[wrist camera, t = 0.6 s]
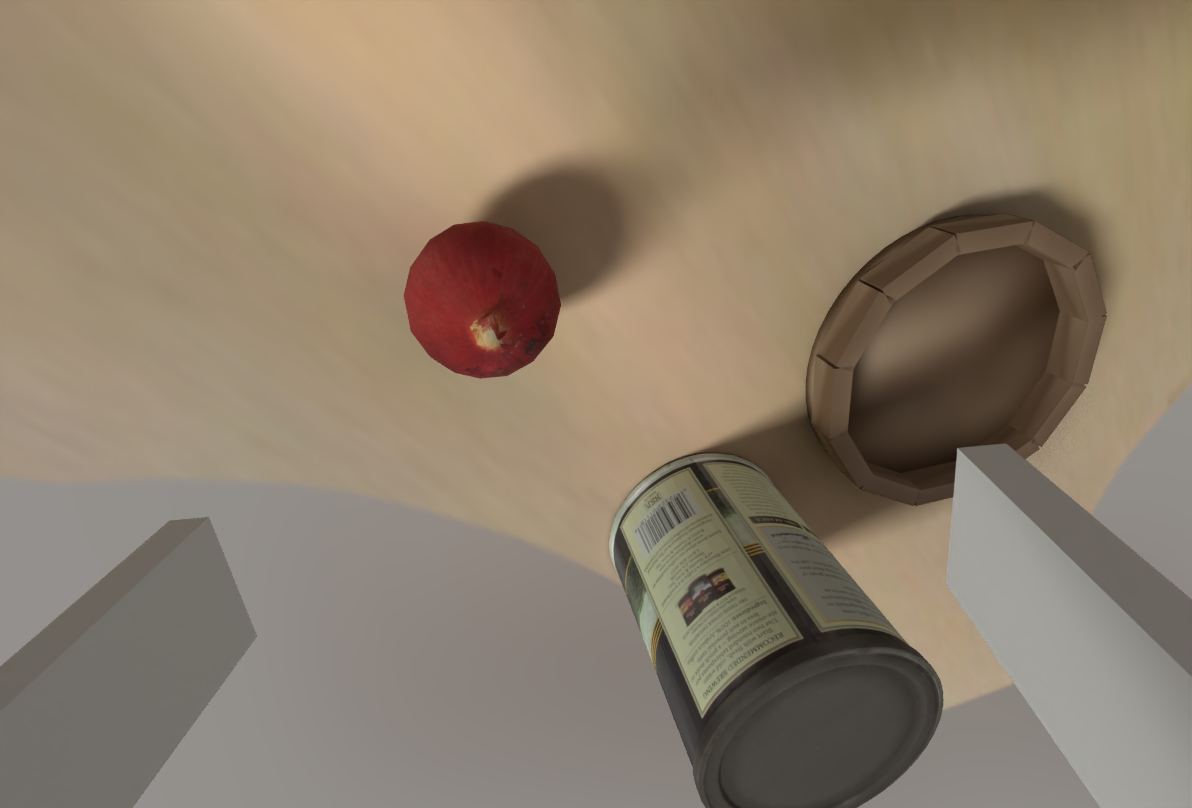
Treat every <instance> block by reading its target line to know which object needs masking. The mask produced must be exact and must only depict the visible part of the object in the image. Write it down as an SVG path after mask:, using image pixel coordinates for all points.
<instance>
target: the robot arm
mask: <svg viewBox="0 0 1192 808" xmlns="http://www.w3.org/2000/svg"><path fill="white" fill-rule="evenodd" d="M946 585H947V587H948V588H949V590H950V591H951V593H952V594H953V595H954V597H955V598H956V600H957V601H958V603H959V604H960V606H961V607H962V608H963V610H964V611H965V613H966V614H967V616H968V617H969V619H970V620H971V621H972V623H973V624H974V626H975V627H976V629H977V630H978V632H979V633H980V634H981V636H982V637H983V639H984V640H985V642H986V643H987V644H988V646H989V647H990V649H991V650H992V652H993V653H994V655H995V656H996V657H997V659H998V660H999V662H1000V663H1001V665H1002V666H1003V668H1004V669H1005V670H1006V672H1007V673H1008V675H1009V676H1010V678H1011V679H1012V681H1013V682H1014V683H1015V685H1016V686H1017V688H1018V689H1019V691H1020V692H1021V694H1022V695H1023V696H1024V698H1025V699H1026V701H1027V702H1028V704H1029V705H1030V706H1031V708H1032V709H1033V711H1034V712H1035V714H1036V715H1037V717H1038V718H1039V719H1040V721H1041V722H1042V724H1043V725H1044V727H1045V728H1046V730H1047V731H1048V732H1049V734H1050V735H1051V737H1052V738H1053V740H1054V741H1055V742H1056V744H1057V745H1058V747H1059V748H1060V749H1061V751H1062V753H1063V754H1064V756H1065V757H1066V758H1067V760H1068V761H1069V763H1070V764H1071V765H1072V767H1073V768H1074V770H1075V771H1076V773H1077V774H1078V776H1079V777H1080V779H1081V780H1082V781H1083V783H1084V784H1085V786H1086V787H1087V789H1088V790H1089V792H1090V793H1091V795H1092V796H1093V797H1094V799H1095V800H1096V802H1097V803H1098V805H1099V806H1100V807H1101V808H1192V599H1191V598H1189V597H1188V596H1187V595H1186V594H1185V593H1184V592H1182V591H1181V590H1180V589H1179V588H1178V587H1176V586H1175V585H1174V584H1173V583H1172V582H1170V581H1169V580H1168V579H1167V578H1166V577H1164V576H1163V575H1162V574H1161V573H1160V572H1158V571H1157V570H1156V569H1155V568H1154V567H1153V566H1151V565H1150V564H1149V563H1148V562H1147V561H1145V560H1144V559H1143V558H1142V557H1140V556H1139V555H1138V554H1137V553H1136V552H1135V551H1134V550H1132V549H1131V548H1130V547H1129V546H1128V545H1126V544H1125V543H1124V542H1123V541H1122V540H1120V539H1119V538H1118V537H1117V536H1116V535H1114V534H1113V533H1112V532H1111V531H1110V530H1109V529H1107V528H1106V527H1105V526H1104V525H1103V524H1101V523H1100V522H1099V521H1098V520H1097V519H1095V518H1094V517H1093V516H1092V515H1091V514H1089V513H1088V512H1087V511H1086V510H1085V509H1084V508H1082V507H1081V506H1080V505H1079V504H1078V503H1076V502H1075V501H1074V500H1073V499H1072V498H1070V497H1069V496H1068V495H1067V494H1066V493H1064V492H1063V491H1062V490H1061V489H1060V488H1059V487H1057V486H1056V485H1055V484H1054V483H1053V482H1051V481H1050V480H1049V479H1048V478H1047V477H1045V476H1044V475H1043V474H1042V473H1041V472H1039V471H1038V470H1037V469H1036V468H1035V467H1034V466H1032V465H1031V464H1030V463H1029V462H1028V461H1026V460H1025V459H1024V458H1023V457H1022V456H1020V455H1019V454H1018V453H1017V452H1016V451H1014V450H1013V449H1012V448H1011V447H1010V446H1009V445H1007V444H995V445H984V446H973V447H962V448H957V460H956V472H955V484H954V496H953V507H952V519H951V531H950V543H949V555H948V567H947V579H946ZM256 637H257V635H256V632H255V630H254V627H253V625H252V623H251V620H250V618H249V615H248V613H247V610H246V608H245V605H244V603H243V600H242V598H241V595H240V593H239V591H238V588H237V585H236V583H235V580H234V578H233V576H232V573H231V571H230V568H229V566H228V563H227V561H226V558H225V556H224V553H223V551H222V549H221V546H220V543H219V541H218V538H217V536H216V533H215V531H214V529H213V526H212V524H211V521H210V519H209V517H205V518H194V519H182V520H171V521H169V522H167V523H166V524H165V525H164V526H163V527H162V528H161V529H159V530H158V531H157V532H156V533H155V534H154V535H153V536H151V537H150V538H149V539H148V540H147V541H145V542H144V543H143V544H142V545H141V546H140V547H139V548H137V549H136V550H135V551H134V552H133V553H132V554H130V555H129V556H128V557H127V558H126V559H125V560H123V561H122V562H121V563H120V564H119V565H118V566H116V567H115V568H114V569H113V570H112V571H111V572H109V573H108V574H107V575H106V576H105V577H104V578H102V579H101V580H100V581H99V582H98V583H97V584H96V585H94V586H93V587H92V588H91V589H90V590H89V591H87V592H86V593H85V594H84V595H83V596H82V597H80V598H79V599H78V600H77V601H76V602H75V603H73V604H72V605H71V606H70V607H69V608H68V609H67V610H65V611H64V612H63V613H62V614H61V615H60V616H58V617H57V618H56V619H55V620H54V621H53V622H51V623H50V624H49V625H48V626H47V627H46V628H45V629H43V630H42V631H41V632H40V633H39V634H38V635H36V636H35V637H34V638H33V639H32V640H31V641H30V642H28V643H27V644H26V645H25V646H24V647H22V648H21V649H20V650H19V651H18V652H17V653H15V654H14V655H13V656H12V657H11V658H10V659H9V660H7V661H6V662H5V663H4V664H3V665H2V666H0V808H133V806H134V805H135V804H136V802H137V801H138V799H139V798H140V796H141V795H142V794H143V793H144V791H145V790H146V788H147V787H148V786H149V784H150V783H151V781H152V780H153V779H154V777H155V776H156V775H157V773H158V772H159V771H160V769H161V768H162V766H163V765H164V763H165V762H166V761H167V760H168V758H169V757H170V755H171V754H172V753H173V751H174V750H175V748H176V747H177V746H178V744H179V743H180V741H181V740H182V739H183V737H184V736H185V735H186V733H187V732H188V731H189V729H190V728H191V726H192V725H193V724H194V722H195V721H196V720H197V718H198V717H199V715H200V714H201V713H202V711H203V710H204V708H205V707H206V706H207V704H208V703H209V702H210V700H211V699H212V697H213V696H214V695H215V693H216V692H217V691H218V689H219V688H220V686H221V685H222V684H223V682H224V681H225V680H226V678H227V677H228V676H229V674H230V673H231V671H232V670H233V669H234V667H235V666H236V665H237V663H238V662H239V660H240V659H241V658H242V656H243V655H244V653H245V652H246V651H247V649H248V648H249V647H250V645H251V644H252V642H253V641H254V640H255V638H256Z"/></svg>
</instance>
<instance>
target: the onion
mask: <svg viewBox="0 0 1192 808" xmlns="http://www.w3.org/2000/svg"><path fill="white" fill-rule="evenodd" d="M404 299H405V304H406V309H407V314H408V319H409V324H410V329H411V332H412V333H413V335H414V336H415V337H416V339H417V340H418V341H419V343H420V344H421V345H422V347H423V348H424V349H425V351H426V352H427V353H428V355H429V356H430V357H431V358H433V359H434V360H436V361H437V362H439V363H441V364H442V365H444V366H445V367H447V368H448V369H450V370H451V371H453V372H455V373H459V374H463V375H467V376H472V377H476V378H490V377H500V376H508V375H510V374H511V373H513V372H515V371H517V370H519V369H520V368H522V367H524V366H526V365H528V364H529V363H531V362H533V361H534V359H535V358H536V357H537V356H538V355H539V353H540V352H541V351H542V350H543V348H544V347H545V346H546V345H547V344H548V342H549V341H550V340H551V339H552V337H553V336H554V332H555V328H556V324H557V319H558V315H559V311H560V307H561V303H560V298H559V293H558V287H557V282H556V277H555V274H554V272H553V270H552V268H551V267H550V265H549V264H548V262H547V261H546V259H545V257H544V256H543V254H542V253H541V251H540V250H539V248H538V246H536V245H535V244H533V243H532V242H530V241H529V240H528V239H526V238H525V237H523V236H522V235H521V234H519V233H518V232H516V231H515V230H513V229H511V228H507V227H503V226H499V225H495V224H492V223H488V222H484V221H481V222H473V223H464V224H456V225H453V226H451V227H450V228H448V229H446V230H445V231H443V232H442V233H440V234H438V235H437V236H435V237H433V238H432V239H430V240H429V242H428V243H427V245H426V246H425V247H424V249H423V250H422V252H421V253H420V254H419V256H418V257H417V259H416V260H415V261H414V263H413V264H412V266H411V267H410V271H409V275H408V280H407V284H406V288H405V293H404Z"/></svg>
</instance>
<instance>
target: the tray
mask: <svg viewBox="0 0 1192 808" xmlns="http://www.w3.org/2000/svg"><path fill="white" fill-rule="evenodd" d="M1106 313H1107V312H1106V309H1105V305H1104V301H1103V298H1102V294H1101V291H1100V287H1099V283H1098V280H1097V276H1096V273H1095V269H1094V265H1093V262H1092V258H1091V255H1090V254H1089V253H1088V251H1086V250H1085V249H1083V248H1081V247H1079V246H1078V245H1076V244H1074V243H1072V242H1071V241H1069V240H1067V239H1066V238H1064V237H1062V236H1060V235H1059V234H1057V233H1055V232H1053V231H1052V230H1050V229H1048V228H1047V227H1045V226H1043V225H1041V224H1040V223H1038V222H1036V221H1032V220H1028V219H1024V218H1020V217H1016V216H1012V215H1009V214H999V215H992V216H987V215H965V216H956V217H951V218H947V219H943V220H939V221H936V222H933V223H931V224H928V225H925V226H923V227H920V228H918V229H916V230H914V231H912V232H910V233H908V234H906V235H905V236H903V237H901V238H899V239H898V240H896V241H895V242H893V243H892V244H890V245H889V246H887V247H886V248H884V249H883V250H882V251H881V252H880V253H878V254H877V255H876V256H875V257H874V258H872V259H871V260H870V261H869V262H868V263H867V264H866V265H865V266H864V267H863V268H862V269H861V270H860V271H859V272H858V273H857V274H856V275H855V276H854V277H853V278H852V279H851V281H850V282H849V283H848V284H847V286H846V287H845V288H844V289H843V291H842V292H841V293H840V294H839V296H838V297H837V299H836V301H835V302H834V304H833V305H832V307H831V308H830V310H829V311H828V313H827V315H826V317H825V319H824V321H823V323H822V325H821V327H820V329H819V331H818V334H817V337H816V339H815V342H814V345H813V347H812V351H811V355H810V359H809V363H808V368H807V377H806V403H807V410H808V416H809V419H810V422H811V425H812V428H813V430H814V432H815V434H816V436H817V438H818V440H819V441H820V443H821V444H822V445H823V447H824V448H825V449H826V451H827V452H828V453H829V454H830V455H831V456H832V457H833V459H834V460H835V462H836V464H837V465H838V467H839V468H840V470H841V471H842V472H843V473H844V474H845V475H846V476H847V477H848V478H849V479H850V480H851V481H852V482H853V483H854V484H855V485H856V486H857V487H858V488H860V489H861V490H864V491H867V492H870V493H873V494H877V495H880V496H883V497H886V498H890V499H893V500H896V501H899V502H903V503H906V504H909V505H912V506H913V505H915V506H917V505H921V504H925V503H930V502H934V501H938V500H943V499H947V498H951V497H953V496H954V484H955V472H956V460H957V448H962V447H973V446H984V445H995V444H1007V445H1009V446H1010V447H1011V448H1012V449H1013V450H1014V451H1016V452H1017V453H1018V454H1019V455H1020V456H1022V457H1023V458H1024V459H1026V458H1027V457H1029V456H1030V455H1032V454H1033V453H1035V452H1036V451H1037V450H1039V447H1038V446H1041V447H1042V446H1043V445H1044V443H1045V442H1046V441H1047V439H1048V438H1049V436H1050V435H1051V434H1052V432H1053V431H1054V430H1055V428H1056V427H1057V426H1058V424H1059V423H1060V422H1061V420H1062V419H1063V418H1064V416H1065V415H1066V414H1067V412H1068V411H1069V410H1070V408H1071V407H1072V406H1073V404H1074V403H1075V402H1076V400H1077V399H1078V397H1079V396H1080V395H1081V393H1082V392H1083V391H1084V389H1085V388H1086V386H1084V385H1085V384H1088V382H1089V378H1090V375H1091V371H1092V367H1093V364H1094V360H1095V356H1096V353H1097V349H1098V346H1099V342H1100V338H1101V335H1102V331H1103V327H1104V324H1105V320H1106V315H1105V314H1106Z"/></svg>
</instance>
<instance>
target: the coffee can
mask: <svg viewBox="0 0 1192 808" xmlns="http://www.w3.org/2000/svg"><path fill="white" fill-rule="evenodd" d="M609 548H610V556H611V560H612V563H613V566H614V568H615V571H616V573H617V574H618V576H619V577H620V580H621V583H622V585H623V588H624V590H625V593H626V595H627V598H628V600H629V603H630V605H631V607H632V611H633V613H634V616H635V618H636V621H637V624H638V627H639V629H640V631H641V634H642V637H643V639H644V642H645V644H646V647H647V649H648V652H649V654H650V657H651V660H652V662H653V665H654V667H655V670H656V672H657V675H658V678H659V681H660V683H661V686H662V689H663V691H664V694H665V696H666V699H667V702H668V704H669V707H670V709H671V712H672V715H673V718H674V720H675V722H676V725H677V728H678V730H679V732H680V735H681V738H682V741H683V743H684V746H685V748H686V751H687V754H688V756H689V759H690V761H691V764H692V767H693V775H694V780H695V784H696V787H697V790H698V793H699V795H700V798H701V801H702V802H703V804H704V805H705V807H706V808H857V807H859V806H860V805H862V804H863V803H865V802H867V801H868V800H870V799H872V798H873V797H875V796H876V795H878V794H879V793H881V792H882V791H884V790H885V789H886V788H887V787H889V786H890V785H891V784H893V783H894V782H895V781H896V780H897V779H898V778H899V777H900V776H901V775H903V774H904V773H905V772H906V771H907V770H908V768H909V767H910V766H912V764H913V763H914V762H915V761H916V760H917V759H918V757H919V756H920V755H921V753H922V752H923V751H924V749H925V748H926V747H927V745H928V743H929V741H930V740H931V738H932V737H933V735H934V733H935V731H936V728H937V726H938V723H939V721H940V717H941V714H942V708H943V690H942V685H941V681H940V679H939V677H938V675H937V674H936V672H935V670H934V669H933V668H932V666H931V665H930V664H929V663H928V662H927V661H926V660H925V659H924V658H923V656H922V655H921V654H920V653H919V652H917V651H916V650H915V649H913V648H912V647H910V646H909V645H908V644H907V642H906V641H905V640H904V639H903V638H902V637H901V635H900V634H899V633H898V632H897V631H896V629H895V628H894V627H893V626H892V625H891V623H890V622H889V621H888V620H887V619H886V618H885V616H884V615H883V614H882V613H881V612H880V610H879V609H878V608H877V607H876V606H875V604H874V603H873V602H872V601H871V600H870V599H869V597H868V596H867V595H866V594H865V593H864V592H863V590H862V589H861V588H860V587H859V586H858V585H857V583H856V582H855V581H854V580H853V579H852V577H851V576H850V575H849V574H848V573H847V571H846V570H845V569H844V568H843V567H842V566H841V564H840V563H839V562H838V561H837V560H836V558H835V557H834V556H833V555H832V554H831V552H830V551H829V550H828V549H827V548H826V546H825V545H824V544H823V543H822V542H821V541H820V540H819V538H818V537H817V536H816V535H815V534H814V532H813V531H812V530H811V529H810V528H809V527H808V525H807V524H806V523H805V522H804V521H803V519H802V518H801V517H800V516H799V514H798V513H797V512H796V511H795V510H794V509H793V507H792V506H791V505H790V504H789V503H788V502H787V500H786V499H785V498H784V497H783V496H782V494H781V493H780V492H779V491H778V490H777V489H776V487H775V486H774V484H773V482H772V481H771V479H770V478H769V477H768V475H767V474H766V473H765V472H764V471H763V470H762V469H761V468H760V467H758V466H756V465H755V464H753V463H752V462H750V461H748V460H746V459H743V458H740V457H737V456H735V455H730V454H718V453H712V454H698V455H693V456H689V457H685V458H682V459H679V460H676V461H674V462H671V463H669V464H666V465H665V466H663V467H662V468H660V469H659V470H657V471H655V472H654V473H652V474H651V475H649V476H648V477H647V478H645V479H644V480H643V481H642V482H641V483H640V484H638V485H637V486H636V487H635V488H634V489H633V491H632V492H631V493H630V494H629V495H628V497H627V498H626V499H625V501H624V502H623V504H622V505H621V507H620V509H619V511H618V512H617V514H616V516H615V519H614V522H613V526H612V529H611V533H610V541H609Z"/></svg>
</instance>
